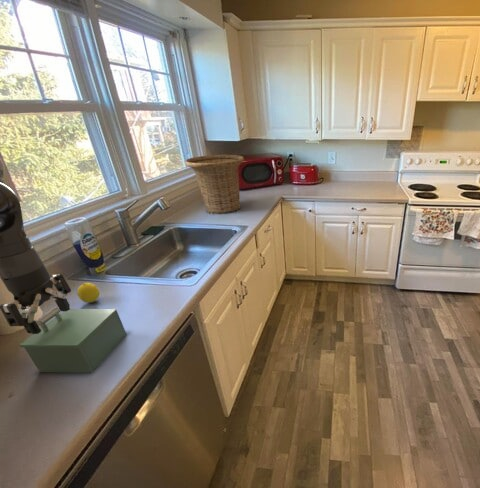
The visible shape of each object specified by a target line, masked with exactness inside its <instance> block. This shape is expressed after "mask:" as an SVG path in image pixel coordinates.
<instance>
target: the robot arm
mask: <svg viewBox="0 0 480 488" xmlns="http://www.w3.org/2000/svg"><path fill="white" fill-rule="evenodd" d="M22 211H23V210H22V206H21V202H20V199H19V197H18V195H17V194H16V193H15V191H14V190H13V189H12V188H11V187H9V186H7V185H6V184H4V183H2V182H0V280H1V281H2V283H3V285H4V287H6V289H7V291H8V292H9V293H11V295H13V300H11V301H9V302H7V303H2V304H0V311H1V313H2V315H3V316H4V318H5V320H6V322H7V324H8V326H9V327H23V328H24V329H25V331H26V333H27V334H31V335H33V334H39V333H40V332H41V328H40V325H38V324H37V323H36V320H34V319H35V314H36V313H37V312H38V308H39V307H40V306H42V305H43V304H44V303H45V302H47V301H49V300H51V299H54V302H55V303H56V305H57V308H58V309H59V310H60V312H63V311H68V310H70V309H71V306H70V303H69V301H68V299H67V295H68V294H70V293H71V292H72V289H71V287H70V285H69V283H68V281H66V280H67V279H66V278H65V277H64V275H63V274H62V273H60V274H59V273H57V274H54V273H52V274H50V273H49V272H48V270H47V268H46V266H45V264H44V261H43V260H42V258H41V256H40V254H39V253H38V251H37V250H36V249H35V248H34V246H33V244H32V242H31V241H30V238H29V237H28V235H27V233H26V231H25V228H24V227H25V225H24V219H23V212H22ZM54 287H55V289H53V288H54ZM27 307H28V308H29V309H28V308H27Z"/></svg>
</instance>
